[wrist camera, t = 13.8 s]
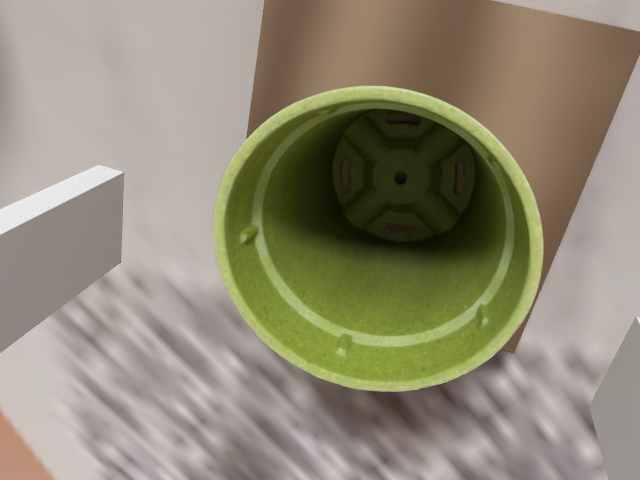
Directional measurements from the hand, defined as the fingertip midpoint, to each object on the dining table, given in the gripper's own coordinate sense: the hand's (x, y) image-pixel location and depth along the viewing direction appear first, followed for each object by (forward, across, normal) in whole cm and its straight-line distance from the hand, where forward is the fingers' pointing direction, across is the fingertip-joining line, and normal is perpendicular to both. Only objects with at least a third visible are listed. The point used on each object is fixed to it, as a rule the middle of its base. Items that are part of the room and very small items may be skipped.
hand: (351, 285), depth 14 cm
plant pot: (+11, 0, 0) cm, 11 cm away
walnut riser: (+14, 0, 0) cm, 14 cm away
